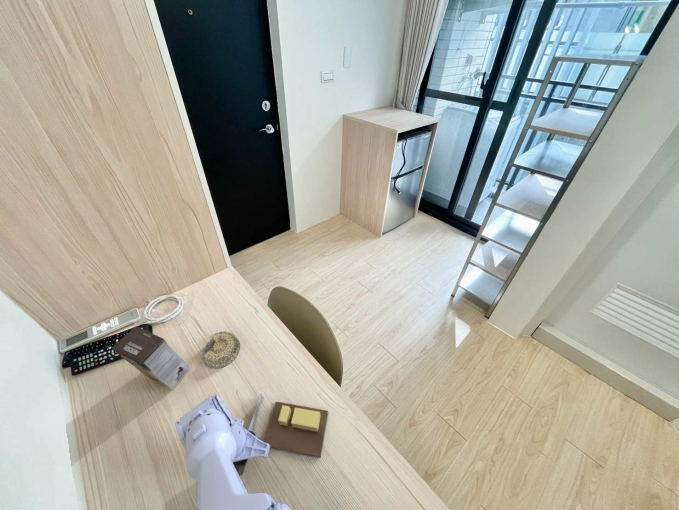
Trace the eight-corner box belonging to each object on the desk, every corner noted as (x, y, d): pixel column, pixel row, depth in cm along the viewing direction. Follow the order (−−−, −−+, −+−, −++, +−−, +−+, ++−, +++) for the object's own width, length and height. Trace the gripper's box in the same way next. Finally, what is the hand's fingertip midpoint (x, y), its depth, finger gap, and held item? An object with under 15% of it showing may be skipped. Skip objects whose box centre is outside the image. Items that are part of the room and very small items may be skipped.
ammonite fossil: (242, 333, 80) (239, 324, 76) (238, 367, 73) (234, 358, 69) (207, 336, 79) (202, 326, 75) (199, 370, 72) (193, 361, 68)
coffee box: (146, 377, 70) (109, 348, 59) (166, 355, 75) (135, 324, 63) (172, 391, 68) (139, 364, 57) (191, 368, 72) (164, 338, 61)
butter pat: (287, 426, 62) (285, 422, 59) (280, 424, 62) (277, 420, 60) (291, 410, 64) (289, 406, 62) (284, 409, 64) (282, 405, 62)
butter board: (320, 457, 58) (320, 456, 58) (263, 446, 60) (262, 445, 59) (328, 412, 65) (328, 410, 64) (276, 402, 66) (275, 401, 65)
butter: (317, 431, 61) (317, 428, 59) (292, 427, 62) (290, 423, 59) (320, 416, 63) (320, 411, 61) (296, 411, 64) (294, 407, 62)
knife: (242, 475, 56) (237, 472, 54) (233, 473, 56) (228, 470, 54) (267, 398, 67) (264, 393, 64) (259, 397, 67) (256, 392, 64)
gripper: (269, 418, 50) (281, 436, 59) (197, 405, 52) (219, 425, 61) (255, 466, 45) (270, 477, 54) (176, 449, 47) (203, 463, 56)
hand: (242, 452), depth 57 cm, fingers closed on knife, 2 cm apart
